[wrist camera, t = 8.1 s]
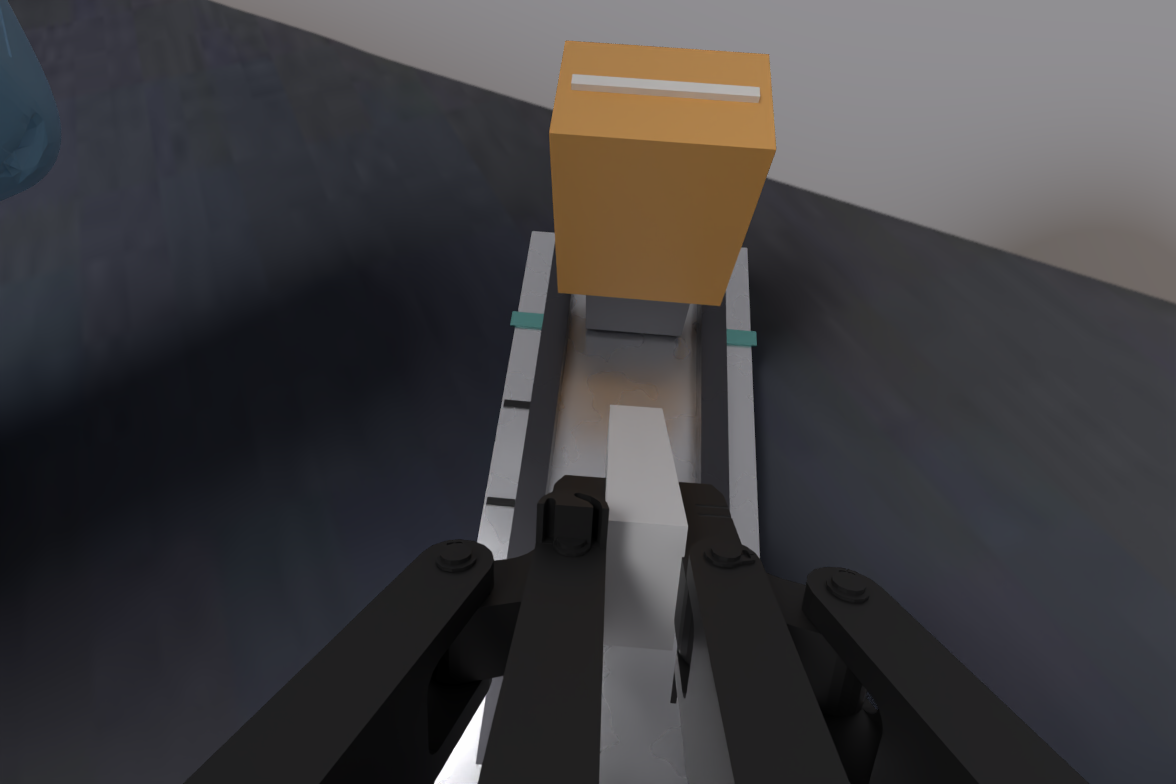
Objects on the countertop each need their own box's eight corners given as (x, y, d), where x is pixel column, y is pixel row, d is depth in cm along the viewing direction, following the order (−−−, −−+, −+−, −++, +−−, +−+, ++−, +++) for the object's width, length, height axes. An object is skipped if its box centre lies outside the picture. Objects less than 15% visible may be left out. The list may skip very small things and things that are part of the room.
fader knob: (704, 348, 24) (778, 143, 15) (560, 336, 25) (548, 126, 16) (704, 271, 26) (770, 47, 17) (570, 260, 26) (565, 33, 17)
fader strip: (759, 831, 19) (796, 859, 16) (438, 795, 19) (409, 816, 16) (741, 270, 29) (760, 218, 26) (531, 254, 30) (525, 200, 26)
